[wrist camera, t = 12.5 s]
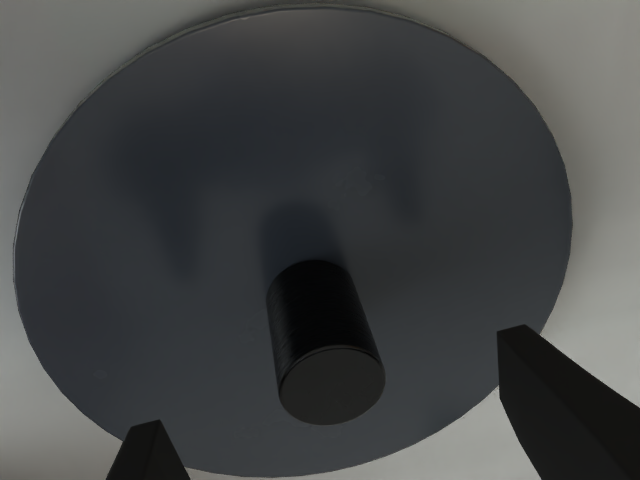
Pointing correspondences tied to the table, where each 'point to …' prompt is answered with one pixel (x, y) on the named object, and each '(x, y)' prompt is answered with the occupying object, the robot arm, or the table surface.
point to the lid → (291, 238)
